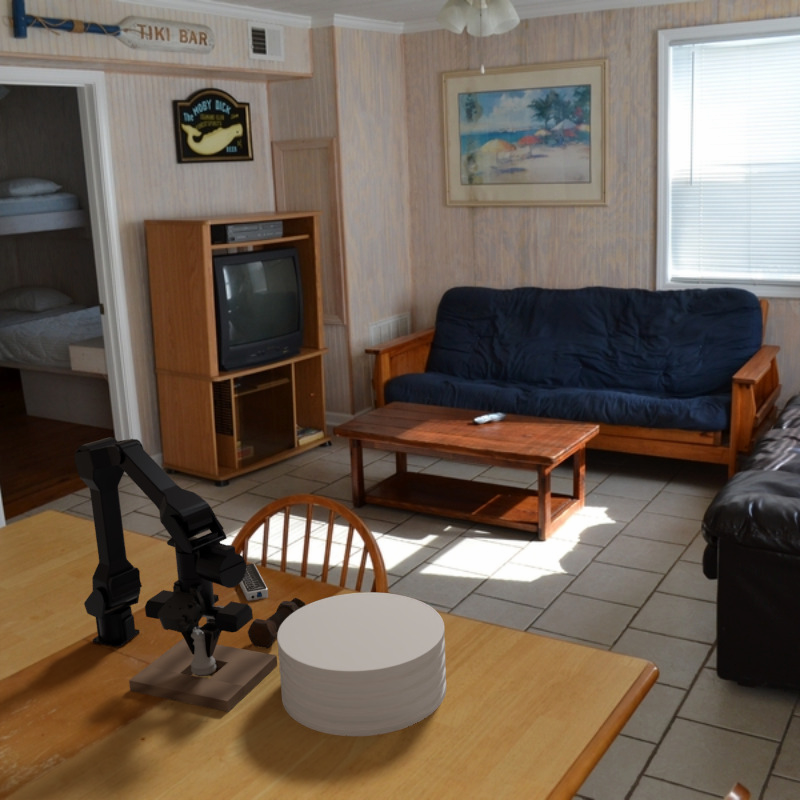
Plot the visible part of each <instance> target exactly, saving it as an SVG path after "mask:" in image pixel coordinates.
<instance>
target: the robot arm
mask: <svg viewBox="0 0 800 800" xmlns="http://www.w3.org/2000/svg"><path fill="white" fill-rule="evenodd" d="M74 464H75V466H76V469H77V474H78V477H79V479H81V480H82V482H83V483H84V484H85V485H86V486H87V488H89V492H90V500H91V508H92V515H93V524H94V529H95V531H94V533H95V538H96V539H95V540H96V547H97V555H98V564H97V566H96V568H95V571H94V573H93V576H92V591H91V592H90V594H89V595H88V597H87V598H86V600H85V601H84V603H83V604H84V608H85V610H86V611H85V612H86V613H87V615H90V616H93V617H94V618H95V624H96V630H97V636H95V637H94V638H93V639H92V643H93V644H94V643H95V644H99V645H105V646H109V647H115V648H121V647H122V646H123V645H125V644H126V643H128V642H129V641H131V640H132V639H134V637H136V636H137V635H139V634H140V630H139V629H136V626H135V616H134V615H133V612H132V607H131V606H134V605H137V604H138V603H139V598H140V594H141V588H142V587H143V585H142V582H141V577H140V576H141V575H140V573H141V572H140V569H139V568H138V567H135V566H134V565H133V564H132V562H131V561H129V560H128V557H127V551H126V543H125V533H124V525H123V519H122V509H121V501H120V493H119V486H120V485H119V484H120V483H121V480H122V477H123V475H124V473H125V474H126V475H127V476H128V477H129V478H130V479H131V481H132V482H133V483H134V484H135V485H137V487H138V488H139V489H140V490H141V491H142V492H143V494H145V495H146V497H148V499H149V500H150V501H151V502H152V504H154V506H155V507H156V508H157V509H158V511H159V521H160V523H161V525H163V527H164V528H165V529H164V530H166V531H167V533H168V534H169V535H170V537H171V538H169V539H168V541H167V542H166V545H167V546H170V547H173V548H174V549H175V550H174V551H175V563H176V569H177V571H176V572H177V580H176V581H174V582H173V586H172V590H173V591H171V590H164V589H162V590H161V591H159V592H158V593H157V594H155V595H154V596H152V597H150V598H149V599H148V600H147V601H146V603H145V606H144V612H145V617H146V618H151V619H157V620H159V622H160V624H161V626H162V628H163V630H166V631H169V630H170V631H175V632H177V633H181V635H182V637H183V638H185V641H186V643H187V645H188V647H189V649H190V651H191V653H192V654H194V652H195V646H194V644H193V642H194V639H193V638H192V637H191V634H192V633H193V630H194V629H193V628H195V627H196V629H198V626H200V625H199V622H200V621H201V620H202V618H206V620H205V621H206V623H204V625H201V628H200V630H201V631H203V632H204V634H205V645H206V653H207V657H209V658H210V657H211V656H212V655H213V653H214V650H215V647H216V644H218V642H219V638H220V636H221V633H222V632H227V633H237V632H238V631H240V630H241V629H242V628H244V627H245V626H246V625H247V624H248V623H249V622H251V620H253V618H254V616H253V615H254V614H253V609H252V606H251V605H249V603H243V602H238V601H237V602H236V601H230V602H229V603H227V604H226V605H216V603H217V602H219V601H220V600H219V599H220V597H219V594H215V593H214V584H217V585H219V586H222V587H225V588H227V589H232V588H235V587H237V586H238V585H240V584H239V583H240V582H241V581H242V579H243V578H244V575H245V572H246V565H247V562H246V560H245V559H244V557H243V555H241V554H240V553H237V552H236V547H235V546H234V545H231V544H224V543H221V542H222V541H224V540H227V535H226V533H225V531H224V527H223V525H222V524H221V522H220V521H219V520H218V518H217V516H216V514H215V512H214V511H213V508H212V507H211V505H210V504H209V503H208V502H207V501H206V500H204V499H203V498H202V497H201V496H200V495H199V494H197V493H195V492H194V491H191V490H187V489H185V488H182V487H180V485H178V484H177V483H176V482H175V481H174V479H172V478H171V476H170V475H169V474H168V473H167V472H166V471H165V470H164V469H163V468H162V466H160V465H159V464H158V463H157V462H156V461H155V460H154V459H153V458H152V457H151V456H150V455H149V453H147V451H146V450H145V449H144V445H143V444H142V442H141V441H140V440H139V439H137V438H136V439H135V438H129V439H123V440H117V439H116V438H114V437H111V436H110V437H107V438H106V437H105V438H102V439H100V440H96V441H91V442H89V443H84V444H82V445H80V446H78V447H77V450H75V452H74ZM208 531H210V532H209V533H207V532H208ZM205 532H206V533H207V534H204V535H202V536H199V537H197V536H198V535H200V534H203V533H205ZM215 605H216V606H215Z"/></svg>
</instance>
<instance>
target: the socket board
mask: <svg viewBox="0 0 800 800" xmlns="http://www.w3.org/2000/svg"><path fill="white" fill-rule="evenodd" d="M212 656H213V658H214V659H215V662H216V663H215V664H216V669H215V671H217V672H215V673H214V674H212V675H211V676H210V678H206V677H203V676H196V675H194V674H193V673H192V672H191V668H192V667H191V662H192V661H193V658H194V654H192V653H191V651H190V649H189V647H188V645H187V643H186V641H185V638H184V637H183V638H182V639H181V640H179V641H178V642H177V643H175V644H174V645H172V646H171V647H170V648H169V649H168V650H166V651H165V652H164V653H163V654H161V655H160V656H159V657H157V658H155V660H153V661H152V662H151V663H149V664H148V665H146V667H144V668H143V669H142V670H140V671H139V672H138V673H136V674H135V675H134V676H133V677H131V678H130V679H129V680H128V682H129V683H128V684H129V691H130V692H134V693H139V694H144V695H147V696H148V695H149V696H153V697H157V698H162V699H166V700H171V701H176V702H180V703H185V704H190V705H194V706H199V707H204V708H208V709H212V710H218V711H221V712H227V713H229V712H231V710H232V709H234V708H235V707H236V705H238V704H239V703H240V702H241V701H242V700H244V698H245V697H246V696H247V695H248V694H249V693H251V691H252V690H253V689H255V688H256V686H257V685H258V684H260V683H261V682H262V681H263V680H264V679H265V678H266V677H267V676H268V675H269V674H271V672H272V671H273V670H274V669H276V668H277V666H278V658H277V656H278V655H276V654H271V653H265V652H259V651H255V650H250V649H243V648H239V647H234V646H229V645H228V646H227V645H224V644H223V645H222V644H218V643H217V644H216V647H215V650H214V653H213V655H212Z"/></svg>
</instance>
